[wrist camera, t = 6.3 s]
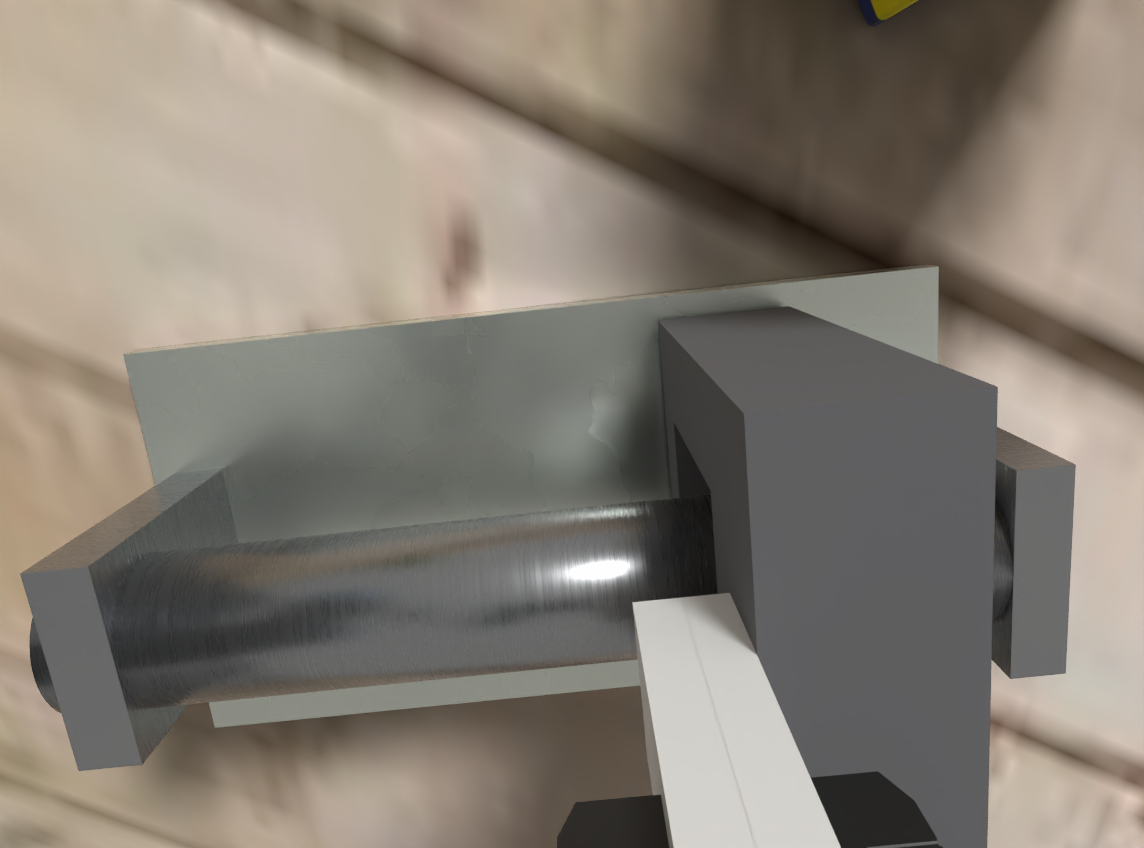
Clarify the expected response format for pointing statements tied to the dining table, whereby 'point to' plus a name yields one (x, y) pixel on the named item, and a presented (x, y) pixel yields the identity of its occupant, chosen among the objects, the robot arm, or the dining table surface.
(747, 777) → the robot arm
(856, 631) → the grey slider block
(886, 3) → the supplement box
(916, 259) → the dining table surface
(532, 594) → the pipe jig
